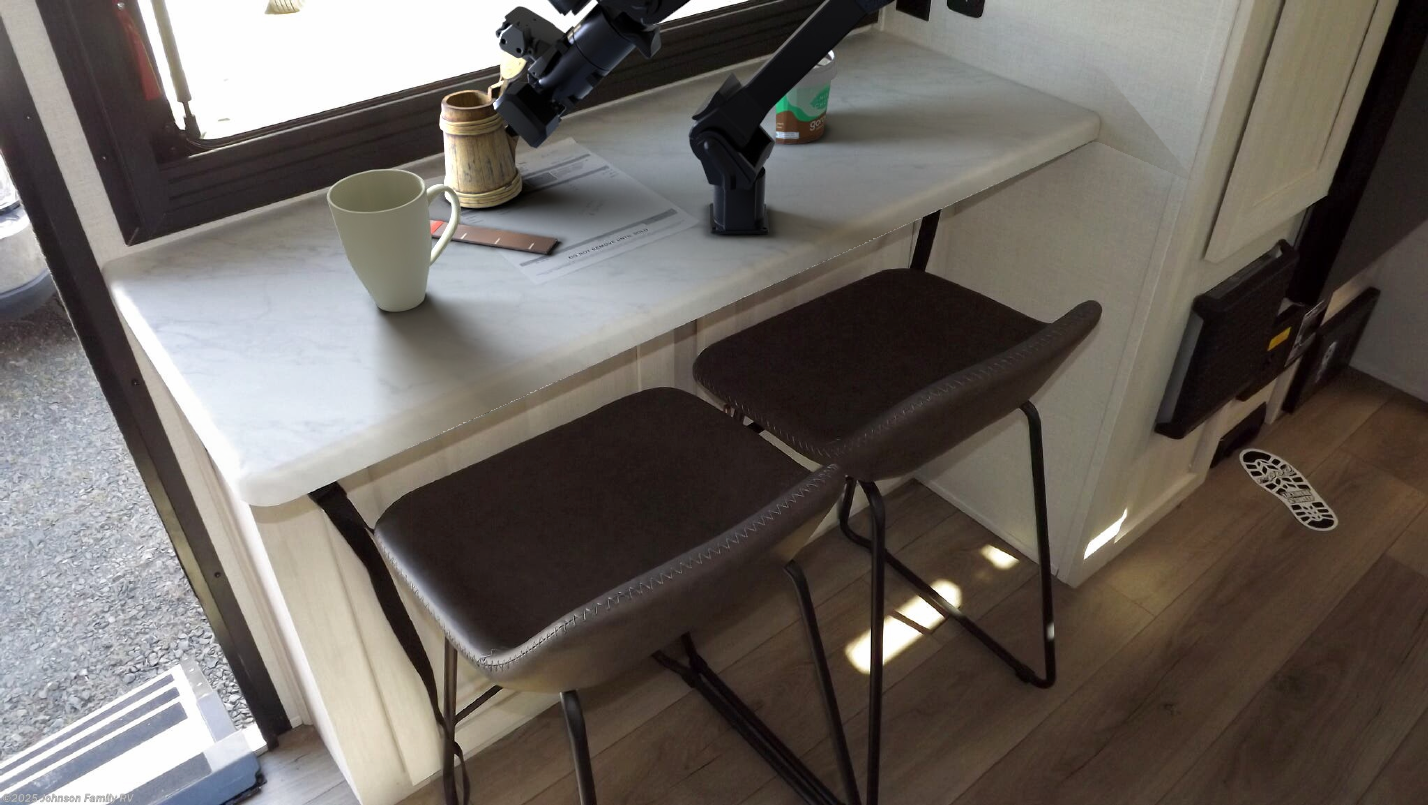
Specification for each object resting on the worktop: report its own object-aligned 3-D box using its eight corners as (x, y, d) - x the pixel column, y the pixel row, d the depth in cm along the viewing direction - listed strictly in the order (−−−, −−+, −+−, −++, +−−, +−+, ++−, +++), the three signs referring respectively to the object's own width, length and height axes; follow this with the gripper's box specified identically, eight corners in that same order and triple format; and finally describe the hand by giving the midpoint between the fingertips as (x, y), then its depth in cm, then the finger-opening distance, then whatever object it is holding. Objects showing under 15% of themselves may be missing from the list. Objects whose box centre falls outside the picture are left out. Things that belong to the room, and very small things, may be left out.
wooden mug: (569, 186, 123) (552, 33, 112) (461, 215, 117) (432, 58, 106) (539, 159, 129) (520, 12, 118) (434, 186, 123) (404, 34, 112)
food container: (818, 155, 130) (824, 77, 124) (771, 147, 132) (775, 70, 126) (843, 117, 139) (849, 43, 133) (799, 111, 141) (803, 37, 135)
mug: (434, 329, 100) (412, 218, 92) (338, 318, 101) (309, 208, 94) (474, 270, 108) (457, 165, 101) (385, 261, 110) (361, 156, 102)
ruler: (557, 240, 113) (556, 238, 113) (546, 254, 111) (546, 251, 111) (392, 216, 117) (392, 214, 117) (379, 229, 115) (378, 226, 115)
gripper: (572, -39, 114) (491, 50, 123) (501, 15, 100) (416, 111, 109) (642, 40, 117) (559, 121, 126) (583, 103, 103) (494, 189, 112)
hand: (509, 132), depth 118 cm, fingers closed, pressing on wooden mug
